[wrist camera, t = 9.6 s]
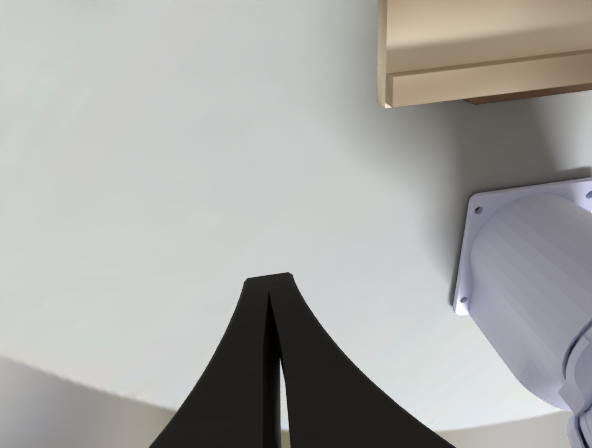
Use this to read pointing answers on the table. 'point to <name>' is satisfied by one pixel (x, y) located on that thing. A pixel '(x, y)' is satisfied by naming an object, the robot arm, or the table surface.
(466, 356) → the table surface
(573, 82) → the balance beam
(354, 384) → the robot arm
